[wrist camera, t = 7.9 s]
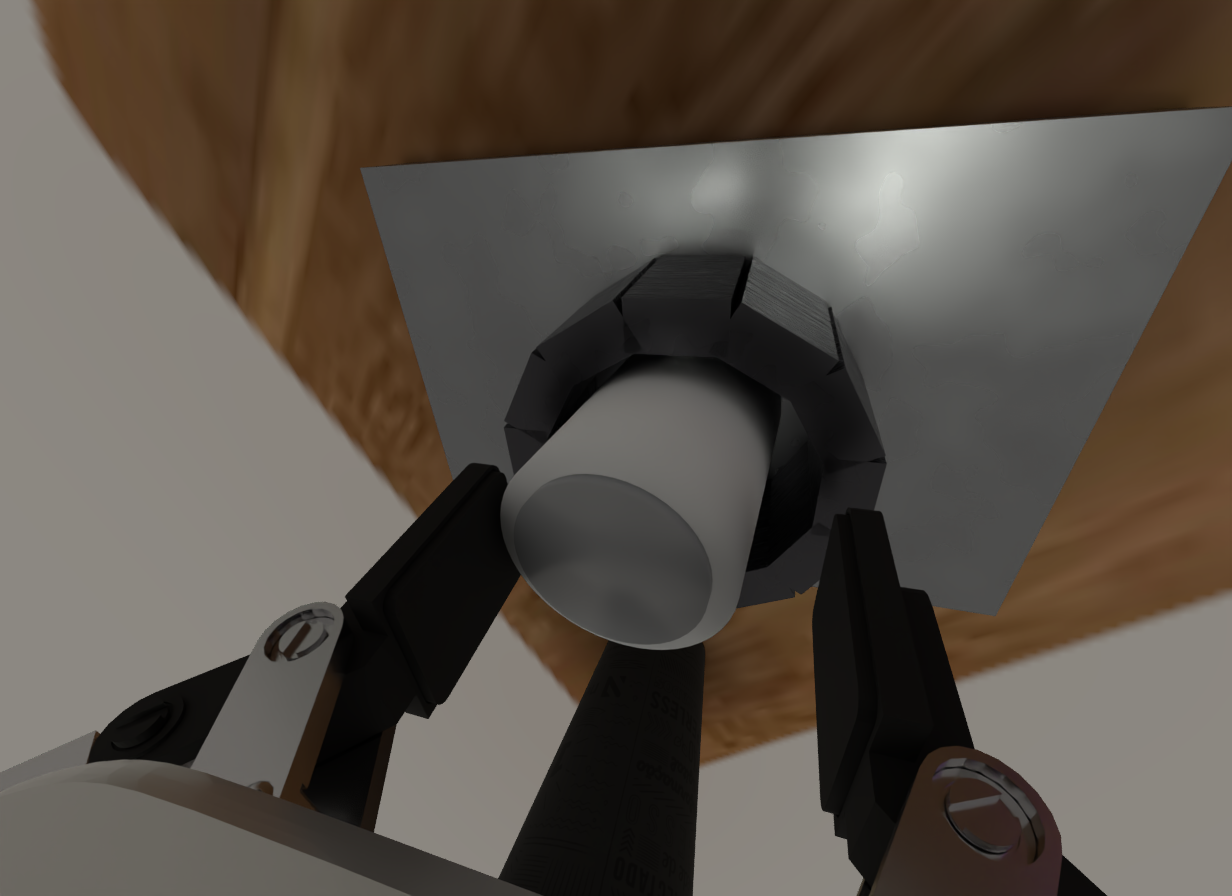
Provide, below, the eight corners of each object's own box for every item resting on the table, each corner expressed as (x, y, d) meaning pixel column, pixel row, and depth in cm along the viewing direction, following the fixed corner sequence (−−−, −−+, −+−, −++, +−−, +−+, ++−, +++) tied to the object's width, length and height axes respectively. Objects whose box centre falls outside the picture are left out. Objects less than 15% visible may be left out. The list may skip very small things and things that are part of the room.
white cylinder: (612, 324, 15) (465, 444, 9) (787, 326, 13) (741, 478, 7) (627, 465, 17) (519, 628, 12) (776, 483, 16) (735, 688, 10)
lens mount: (402, 163, 16) (237, 181, 11) (1189, 107, 11) (1524, 95, 6) (490, 502, 23) (413, 600, 19) (977, 572, 18) (1045, 735, 13)
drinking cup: (757, 627, 23) (682, 1815, 7) (708, 707, 27) (593, 1537, 11) (602, 570, 24) (216, 1496, 8) (579, 656, 28) (304, 1356, 12)
